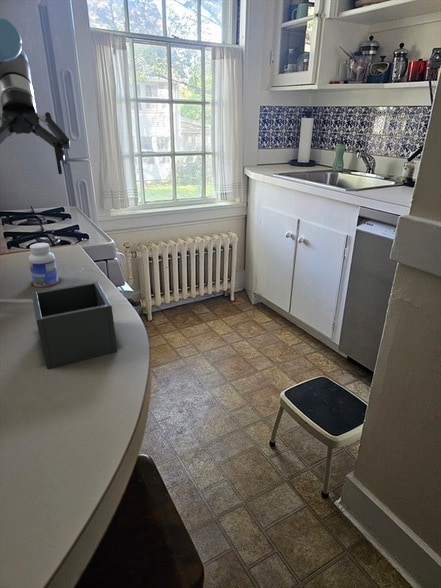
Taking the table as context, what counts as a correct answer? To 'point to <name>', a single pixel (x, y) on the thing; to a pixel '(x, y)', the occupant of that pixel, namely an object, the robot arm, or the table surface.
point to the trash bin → (74, 323)
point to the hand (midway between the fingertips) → (28, 172)
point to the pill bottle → (42, 265)
